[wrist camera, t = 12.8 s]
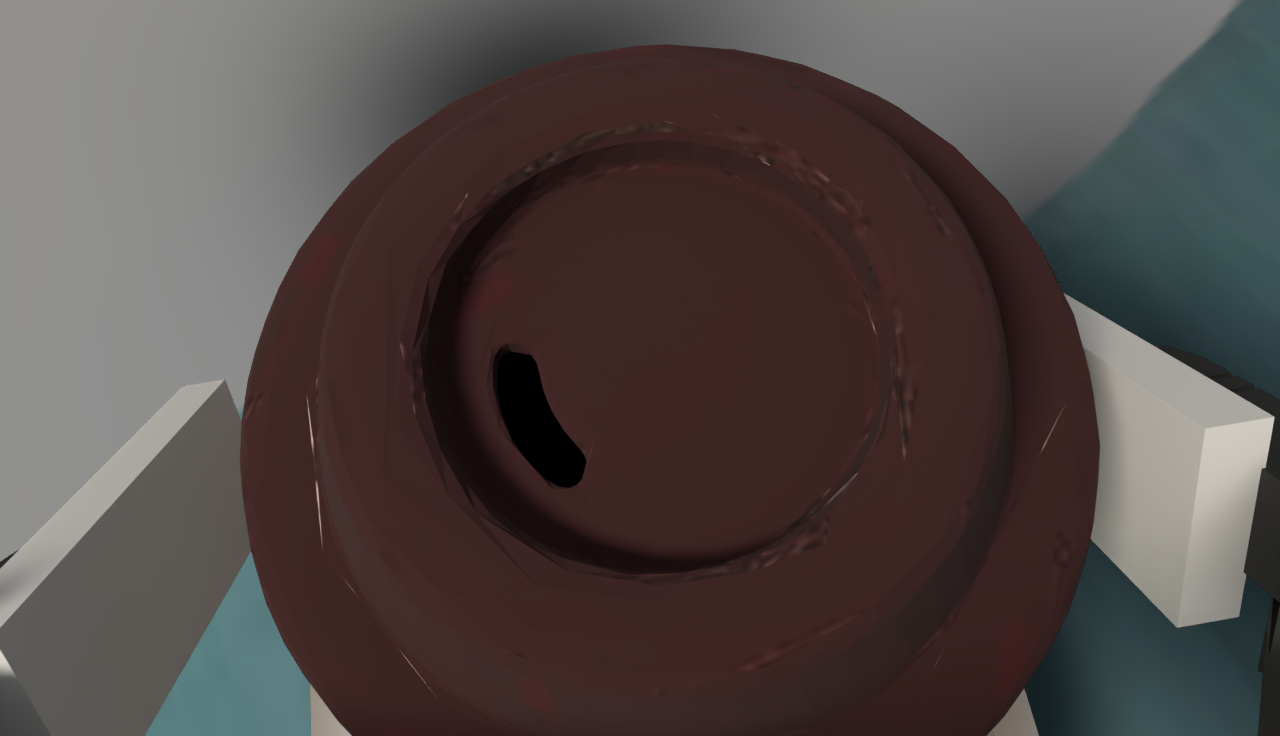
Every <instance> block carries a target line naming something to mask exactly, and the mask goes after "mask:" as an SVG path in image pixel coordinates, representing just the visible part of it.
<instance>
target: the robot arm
mask: <svg viewBox="0 0 1280 736" xmlns="http://www.w3.org/2000/svg"><path fill="white" fill-rule="evenodd" d="M1064 295H1065V297H1066V299H1067V301H1068V303H1069V305H1070V307H1071V309H1072V311H1073V313H1074V316H1075V320H1076V323H1077V327H1078V330H1079V334H1080V338H1081V341H1082V345H1083V349H1084V352H1085V356H1086V360H1087V364H1088V368H1089V371H1090V377H1091V382H1092V388H1093V393H1094V400H1095V408H1096V416H1097V424H1098V432H1099V440H1100V457H1099V477H1098V488H1097V498H1096V507H1095V516H1094V524H1093V529H1092V534H1091V540H1092V541H1093V542H1094V543H1095V544H1096V545H1097V546H1098V547H1099V548H1100V549H1101V550H1102V551H1103V552H1104V553H1105V554H1106V555H1107V556H1108V557H1109V558H1110V559H1111V561H1112V562H1113V563H1114V564H1115V565H1116V566H1117V567H1118V568H1119V569H1120V570H1121V571H1122V572H1123V573H1124V574H1125V575H1126V576H1127V577H1128V578H1129V579H1130V580H1131V581H1132V582H1133V583H1134V584H1135V585H1136V586H1137V587H1138V588H1139V589H1140V590H1141V591H1142V592H1143V593H1144V594H1145V595H1146V596H1147V597H1148V599H1149V600H1150V601H1151V602H1152V603H1153V604H1154V605H1155V606H1156V607H1157V608H1158V609H1159V610H1160V611H1161V612H1162V613H1163V614H1164V615H1165V616H1166V617H1167V618H1168V619H1169V620H1170V621H1171V622H1172V623H1173V624H1174V625H1175V626H1176V627H1177V628H1179V627H1184V626H1190V625H1196V624H1202V623H1207V622H1213V621H1219V620H1225V619H1230V618H1236V617H1239V613H1240V608H1241V602H1242V597H1243V591H1244V585H1245V580H1246V575H1247V576H1248V577H1250V578H1251V579H1252V580H1253V581H1254V582H1256V583H1257V584H1258V585H1259V586H1260V587H1261V588H1263V589H1264V590H1265V591H1266V592H1267V593H1269V594H1270V595H1271V596H1272V600H1271V606H1270V611H1269V616H1268V621H1267V626H1266V631H1265V636H1264V641H1263V646H1262V651H1261V656H1260V661H1259V666H1258V671H1259V672H1263V679H1262V691H1261V703H1260V715H1259V727H1258V736H1280V400H1279V399H1277V398H1276V397H1274V396H1272V395H1270V394H1268V393H1267V392H1265V391H1263V390H1261V389H1256V390H1255V388H1254V385H1252V384H1250V383H1249V382H1247V381H1245V380H1243V379H1242V378H1240V377H1238V376H1232V375H1231V372H1229V371H1227V370H1225V369H1224V368H1222V367H1220V366H1218V365H1217V364H1215V363H1213V362H1211V361H1209V360H1208V359H1206V358H1204V357H1201V356H1198V355H1195V354H1191V353H1188V352H1184V351H1181V350H1178V349H1174V348H1171V347H1167V346H1161V347H1155V346H1153V345H1151V344H1150V343H1148V342H1146V341H1145V340H1143V339H1141V338H1140V337H1138V336H1136V335H1134V334H1133V333H1131V332H1129V331H1128V330H1126V329H1124V328H1122V327H1121V326H1119V325H1117V324H1116V323H1114V322H1112V321H1111V320H1109V319H1107V318H1105V317H1104V316H1102V315H1100V314H1099V313H1097V312H1095V311H1094V310H1092V309H1090V308H1088V307H1087V306H1085V305H1083V304H1082V303H1080V302H1078V301H1077V300H1075V299H1073V298H1071V297H1070V296H1068V295H1066V294H1065V293H1064ZM241 425H242V422H241V419H240V417H239V414H238V412H237V409H236V406H235V404H234V401H233V399H232V396H231V393H230V391H229V388H228V386H227V383H226V380H225V379H224V380H219V381H213V382H207V383H201V384H195V385H189V386H183V387H181V388H180V390H178V392H177V393H175V395H173V396H172V397H171V398H170V399H169V400H168V401H167V402H166V403H165V404H164V406H162V407H161V408H160V409H159V410H158V411H157V412H156V413H155V415H153V416H152V418H150V419H149V421H147V422H146V423H145V424H144V425H143V426H142V427H141V428H140V429H139V431H138V432H136V433H135V434H134V436H133V437H131V438H130V439H129V440H128V441H127V442H126V443H125V444H124V446H122V447H121V448H120V449H119V450H118V451H117V453H115V454H114V455H113V456H112V457H111V458H110V459H109V460H108V461H107V462H106V463H105V464H104V465H103V466H102V467H101V468H100V469H99V471H97V473H96V474H94V475H93V476H92V477H91V478H90V479H89V480H88V481H87V482H86V483H85V485H84V486H82V487H81V488H80V489H79V490H78V491H77V492H76V493H75V494H74V495H73V496H72V497H71V499H69V500H68V501H67V502H66V504H65V505H63V506H62V507H61V508H60V510H58V511H57V512H56V513H55V514H54V516H52V517H51V519H50V520H49V521H47V522H46V523H45V524H44V525H43V527H41V529H39V531H37V533H35V534H34V535H33V537H31V539H30V540H29V541H27V542H26V543H25V544H24V545H23V546H22V547H21V548H20V549H19V550H17V551H16V552H14V553H13V554H11V555H10V556H8V557H7V558H5V559H4V560H3V561H1V562H0V736H145V734H146V732H147V730H148V729H149V727H150V725H151V724H152V722H153V720H154V718H155V717H156V715H157V713H158V711H159V710H160V708H161V706H162V704H163V703H164V701H165V699H166V697H167V696H168V694H169V692H170V691H171V689H172V687H173V685H174V684H175V682H176V680H177V678H178V677H179V675H180V673H181V671H182V670H183V668H184V666H185V665H186V663H187V661H188V659H189V658H190V656H191V654H192V652H193V651H194V649H195V647H196V645H197V644H198V642H199V640H200V638H201V637H202V635H203V633H204V632H205V630H206V628H207V626H208V625H209V623H210V621H211V619H212V618H213V616H214V614H215V612H216V611H217V609H218V607H219V605H220V604H221V602H222V600H223V599H224V597H225V595H226V593H227V592H228V590H229V588H230V586H231V585H232V583H233V581H234V579H235V578H236V576H237V574H238V572H239V571H240V569H241V567H242V566H243V564H244V562H245V560H246V559H247V557H248V555H249V553H250V552H251V548H250V544H249V537H248V530H247V523H246V516H245V510H244V503H243V496H242V483H241V470H240V444H241Z"/></svg>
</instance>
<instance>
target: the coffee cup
mask: <svg viewBox="0 0 1280 736" xmlns="http://www.w3.org/2000/svg"><path fill="white" fill-rule="evenodd" d="M1099 457H1100V440H1099V432H1098V424H1097V416H1096V408H1095V400H1094V393H1093V388H1092V382H1091V377H1090V371H1089V368H1088V364H1087V360H1086V356H1085V352H1084V349H1083V345H1082V341H1081V338H1080V334H1079V330H1078V327H1077V323H1076V320H1075V316H1074V313H1073V311H1072V309H1071V307H1070V305H1069V303H1068V301H1067V299H1066V297H1065V295H1064V293H1063V291H1062V289H1061V287H1060V285H1059V283H1058V281H1057V279H1056V277H1055V275H1054V273H1053V271H1052V269H1051V267H1050V265H1049V263H1048V261H1047V259H1046V257H1045V255H1044V253H1043V251H1042V249H1041V248H1040V246H1039V245H1038V244H1037V242H1036V241H1035V239H1034V238H1033V236H1032V235H1031V234H1030V232H1029V231H1028V229H1027V228H1026V226H1025V225H1024V224H1023V222H1022V221H1021V219H1020V218H1019V216H1018V215H1017V214H1016V212H1015V211H1014V209H1013V208H1012V207H1011V205H1010V204H1009V202H1008V201H1007V199H1006V198H1005V197H1004V196H1003V195H1002V194H1001V193H1000V192H999V191H998V190H997V189H996V188H995V187H994V186H993V185H992V184H991V183H990V182H989V181H988V180H987V179H986V178H985V177H984V176H983V175H982V174H981V173H980V172H979V171H978V170H977V169H976V168H975V167H974V166H973V165H972V164H971V163H970V162H969V161H968V160H967V159H966V158H965V157H964V156H963V155H962V154H961V153H960V152H959V151H958V150H957V149H956V148H955V147H954V146H953V145H951V144H950V143H948V142H947V141H946V140H944V139H943V138H941V137H940V136H938V135H937V134H936V133H934V132H933V131H931V130H930V129H929V128H927V127H926V126H924V125H923V124H921V123H920V122H918V121H917V120H915V119H914V118H913V117H911V116H910V115H909V114H907V113H906V112H904V111H903V110H902V109H900V108H899V107H897V106H895V105H894V104H892V103H890V102H888V101H886V100H884V99H883V98H881V97H879V96H877V95H875V94H873V93H871V92H868V91H866V90H863V89H861V88H859V87H856V86H854V85H852V84H850V83H847V82H845V81H843V80H840V79H838V78H835V77H833V76H830V75H827V74H825V73H823V72H820V71H817V70H815V69H812V68H810V67H807V66H805V65H802V64H798V63H794V62H789V61H785V60H780V59H776V58H772V57H768V56H764V55H759V54H754V53H749V52H744V51H738V50H734V49H719V48H707V47H693V46H680V45H649V46H634V47H627V48H621V49H614V50H608V51H601V52H595V53H588V54H582V55H576V56H570V57H567V58H564V59H560V60H556V61H553V62H550V63H546V64H543V65H539V66H536V67H532V68H529V69H527V70H524V71H521V72H519V73H516V74H513V75H511V76H508V77H506V78H503V79H500V80H497V81H495V82H493V83H491V84H489V85H487V86H485V87H483V88H481V89H479V90H477V91H475V92H473V93H471V94H469V95H467V96H464V97H462V98H460V99H458V100H456V101H454V102H452V103H450V104H449V105H447V106H446V107H444V108H443V109H441V110H440V111H438V112H437V113H436V114H434V115H433V116H431V117H430V118H428V119H427V120H426V121H424V122H423V123H421V124H420V125H418V126H417V127H416V128H414V129H413V130H411V131H410V132H408V133H407V134H406V135H404V136H403V137H401V138H400V139H398V140H397V141H395V142H394V143H393V144H391V145H390V146H389V147H388V148H387V149H386V150H385V151H384V152H383V153H382V154H380V155H379V156H378V157H377V158H376V159H375V160H374V161H373V162H372V163H371V164H370V165H369V166H368V167H367V168H365V169H364V170H363V171H362V172H361V173H360V174H359V175H358V176H357V177H356V178H355V179H354V180H353V181H351V183H350V184H349V185H348V186H347V187H346V189H345V190H344V191H343V192H342V194H341V195H340V196H339V197H338V198H337V200H336V201H335V202H334V203H333V205H332V206H331V207H330V208H329V210H328V211H327V212H326V214H325V215H324V216H323V218H322V219H321V220H320V222H319V223H318V225H317V226H316V227H315V229H314V230H313V231H312V233H311V234H310V236H309V237H308V239H307V240H306V241H305V242H304V244H303V245H302V247H301V248H300V249H299V251H298V253H297V254H296V256H295V258H294V261H293V262H292V264H291V266H290V268H289V270H288V272H287V273H286V276H285V277H284V279H283V281H282V283H281V285H280V287H279V289H278V291H277V294H276V296H275V299H274V301H273V304H272V306H271V309H270V311H269V313H268V316H267V318H266V321H265V324H264V327H263V330H262V333H261V336H260V339H259V342H258V345H257V348H256V351H255V355H254V358H253V362H252V366H251V370H250V375H249V378H248V383H247V389H246V396H245V403H244V409H243V416H242V425H241V444H240V470H241V483H242V496H243V503H244V510H245V516H246V523H247V530H248V537H249V544H250V548H251V552H252V555H253V559H254V563H255V566H256V570H257V574H258V577H259V580H260V584H261V587H262V590H263V594H264V597H265V600H266V604H267V606H268V608H269V610H270V613H271V615H272V617H273V619H274V621H275V624H276V626H277V628H278V630H279V633H280V635H281V637H282V639H283V641H284V644H285V645H286V647H287V648H288V650H289V652H290V653H291V655H292V657H293V658H294V660H295V661H296V663H297V665H298V666H299V668H300V670H301V671H302V673H303V674H304V676H305V677H306V679H307V680H308V681H309V683H310V684H311V685H312V687H313V688H314V690H315V691H316V692H317V694H318V695H319V696H320V698H321V699H322V700H323V702H324V703H325V705H326V706H327V707H328V709H329V710H330V711H331V713H332V714H333V715H334V717H335V718H336V719H337V721H338V722H339V723H340V724H341V725H342V726H343V727H344V728H345V729H346V730H347V731H348V732H349V733H350V735H351V736H987V735H988V734H989V733H990V732H991V731H992V729H993V728H994V727H995V726H996V725H997V724H998V723H999V722H1000V721H1001V720H1002V719H1003V718H1004V716H1005V715H1006V714H1007V712H1008V711H1009V709H1010V708H1011V707H1012V705H1013V704H1014V702H1015V701H1016V699H1017V698H1018V697H1019V695H1020V694H1021V692H1022V691H1023V689H1024V688H1025V686H1026V685H1027V683H1028V682H1029V680H1030V679H1031V678H1032V676H1033V675H1034V673H1035V672H1036V670H1037V669H1038V667H1039V666H1040V664H1041V663H1042V661H1043V660H1044V658H1045V657H1046V656H1047V654H1048V653H1049V651H1050V649H1051V647H1052V645H1053V643H1054V641H1055V638H1056V636H1057V634H1058V632H1059V630H1060V628H1061V626H1062V624H1063V622H1064V620H1065V618H1066V616H1067V614H1068V612H1069V609H1070V606H1071V603H1072V600H1073V597H1074V594H1075V591H1076V588H1077V585H1078V582H1079V579H1080V576H1081V573H1082V570H1083V567H1084V564H1085V560H1086V556H1087V551H1088V547H1089V543H1090V539H1091V534H1092V529H1093V524H1094V516H1095V507H1096V498H1097V488H1098V477H1099Z"/></svg>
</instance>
